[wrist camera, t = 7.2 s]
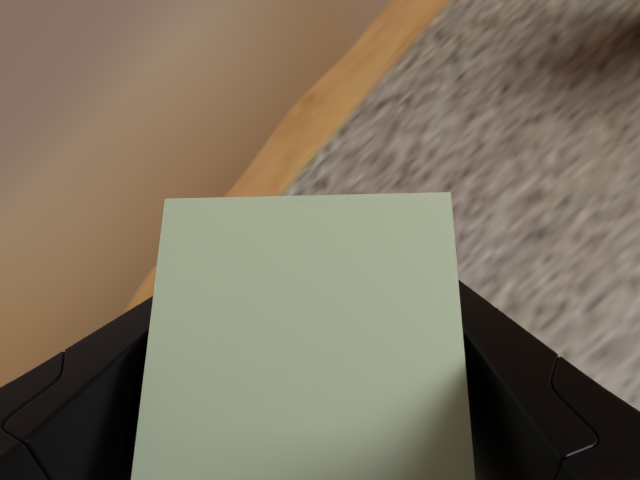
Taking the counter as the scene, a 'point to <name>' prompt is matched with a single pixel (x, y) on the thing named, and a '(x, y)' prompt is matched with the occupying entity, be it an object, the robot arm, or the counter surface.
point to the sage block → (306, 342)
